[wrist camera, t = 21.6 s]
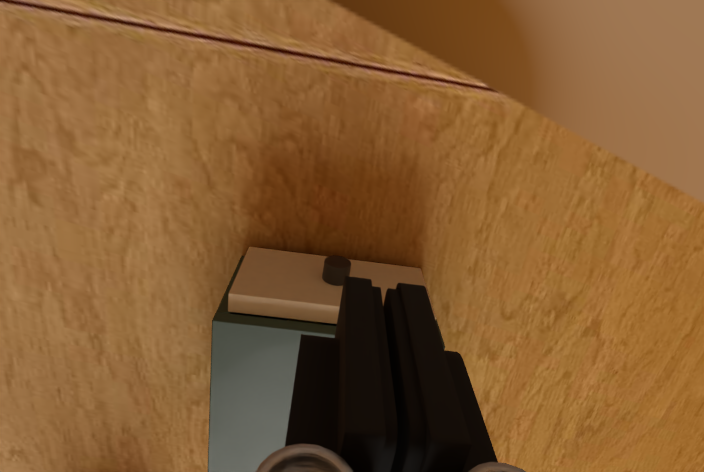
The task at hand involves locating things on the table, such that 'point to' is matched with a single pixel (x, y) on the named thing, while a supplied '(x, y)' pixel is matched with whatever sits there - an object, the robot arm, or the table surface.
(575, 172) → the table surface
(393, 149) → the table surface
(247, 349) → the cabinet
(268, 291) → the drawer
